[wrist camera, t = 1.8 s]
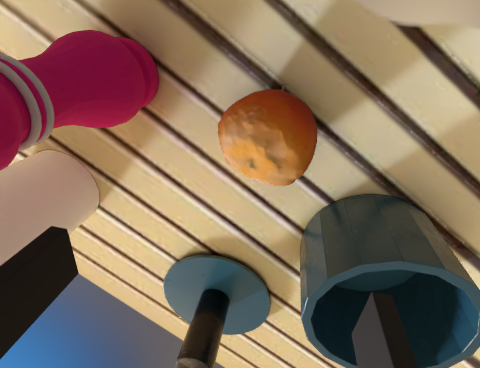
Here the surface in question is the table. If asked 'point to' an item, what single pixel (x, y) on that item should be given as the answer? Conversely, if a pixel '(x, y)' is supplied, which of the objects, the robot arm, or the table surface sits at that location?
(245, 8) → the table surface
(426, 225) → the pot
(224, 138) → the fruit
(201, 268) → the lid
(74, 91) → the pepper mill
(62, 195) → the cylinder container
